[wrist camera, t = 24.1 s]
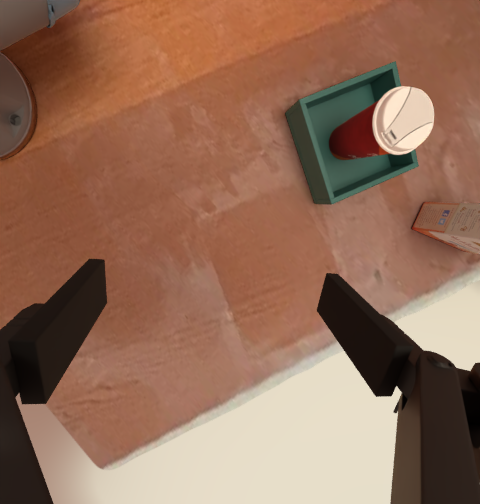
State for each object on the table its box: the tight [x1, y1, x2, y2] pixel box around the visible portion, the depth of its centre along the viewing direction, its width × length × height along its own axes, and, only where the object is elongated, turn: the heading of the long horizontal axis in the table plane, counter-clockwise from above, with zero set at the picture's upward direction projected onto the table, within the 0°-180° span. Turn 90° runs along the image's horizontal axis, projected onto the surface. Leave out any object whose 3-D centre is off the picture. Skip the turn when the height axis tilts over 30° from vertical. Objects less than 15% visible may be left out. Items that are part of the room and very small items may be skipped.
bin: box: [285, 61, 419, 204], centre depth 43 cm, size 16×16×6 cm
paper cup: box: [329, 86, 434, 160], centre depth 38 cm, size 8×8×14 cm
